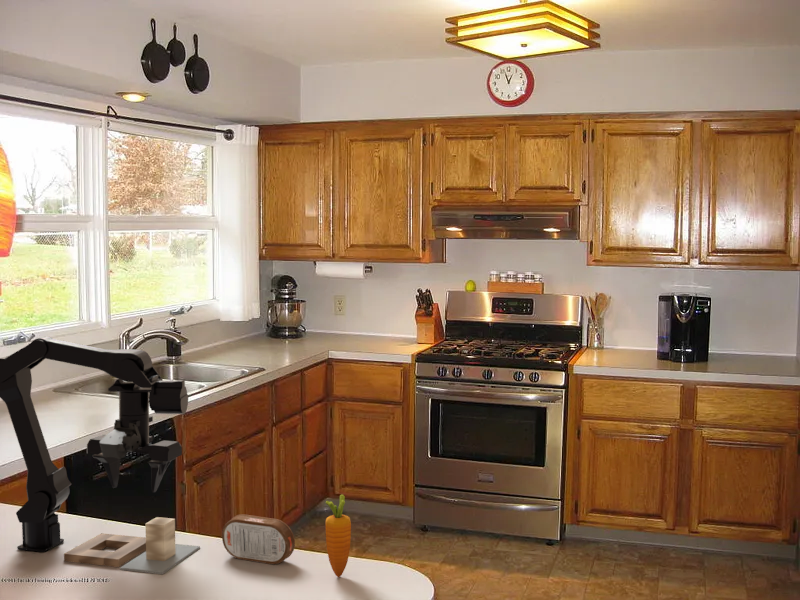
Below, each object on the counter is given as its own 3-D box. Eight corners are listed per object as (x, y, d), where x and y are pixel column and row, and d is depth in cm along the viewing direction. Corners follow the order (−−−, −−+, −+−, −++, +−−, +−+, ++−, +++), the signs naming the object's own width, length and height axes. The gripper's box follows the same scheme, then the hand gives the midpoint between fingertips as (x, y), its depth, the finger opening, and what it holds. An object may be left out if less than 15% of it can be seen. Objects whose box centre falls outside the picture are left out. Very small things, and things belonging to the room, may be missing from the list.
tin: (296, 562, 162) (295, 519, 162) (288, 568, 159) (287, 524, 159) (228, 552, 168) (227, 511, 167) (219, 558, 165) (219, 515, 164)
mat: (120, 569, 159) (120, 567, 159) (160, 544, 172) (160, 542, 172) (162, 574, 157) (162, 572, 157) (199, 548, 170) (199, 546, 170)
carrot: (331, 584, 152) (330, 502, 151) (320, 574, 156) (320, 494, 155) (356, 579, 154) (355, 498, 153) (345, 569, 158) (344, 491, 157)
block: (146, 559, 163) (145, 523, 163) (157, 551, 167) (156, 517, 167) (164, 561, 162) (163, 525, 162) (175, 553, 166) (174, 518, 165)
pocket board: (64, 561, 163) (63, 553, 163) (101, 540, 175) (101, 533, 175) (118, 567, 160) (118, 559, 160) (153, 545, 172) (152, 538, 172)
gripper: (68, 417, 165) (68, 496, 166) (151, 424, 159) (151, 506, 160) (103, 407, 176) (104, 481, 177) (183, 413, 170) (183, 490, 171)
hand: (134, 489), depth 171 cm, fingers open, 9 cm apart
